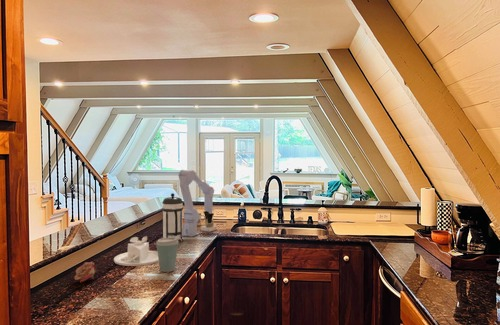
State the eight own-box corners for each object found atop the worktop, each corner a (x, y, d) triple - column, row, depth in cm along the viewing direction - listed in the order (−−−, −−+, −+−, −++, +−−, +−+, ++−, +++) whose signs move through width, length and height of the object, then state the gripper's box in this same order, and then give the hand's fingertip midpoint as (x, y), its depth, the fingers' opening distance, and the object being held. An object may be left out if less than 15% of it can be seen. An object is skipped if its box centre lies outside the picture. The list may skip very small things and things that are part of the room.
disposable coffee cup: (156, 274, 171) (156, 242, 170) (155, 267, 181) (155, 236, 181) (179, 272, 174) (179, 240, 173) (177, 265, 184) (177, 235, 184)
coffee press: (154, 242, 230) (154, 194, 229) (171, 237, 244) (171, 191, 243) (176, 245, 222) (176, 195, 221) (192, 240, 236) (192, 193, 235)
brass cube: (213, 226, 265) (213, 219, 265) (206, 227, 263) (206, 220, 263) (212, 225, 270) (211, 218, 269) (205, 225, 268) (205, 218, 268)
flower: (95, 271, 170) (84, 258, 167) (105, 271, 164) (94, 258, 162) (79, 288, 164) (67, 275, 161) (89, 288, 158) (77, 276, 155)
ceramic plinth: (210, 232, 261) (210, 227, 261) (200, 231, 265) (200, 226, 265) (216, 230, 268) (216, 225, 268) (206, 228, 272) (206, 224, 272)
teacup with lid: (189, 226, 280) (189, 210, 280) (189, 223, 289) (189, 208, 289) (205, 225, 281) (205, 210, 281) (205, 223, 290) (205, 208, 290)
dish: (113, 255, 203) (113, 234, 203) (160, 251, 212) (160, 231, 211) (114, 268, 180) (113, 245, 180) (166, 263, 189) (166, 241, 188)
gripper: (216, 204, 260) (216, 223, 261) (211, 201, 274) (211, 219, 274) (206, 204, 258) (206, 224, 258) (202, 201, 272) (202, 220, 272)
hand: (208, 222), depth 266 cm, fingers open, 7 cm apart
